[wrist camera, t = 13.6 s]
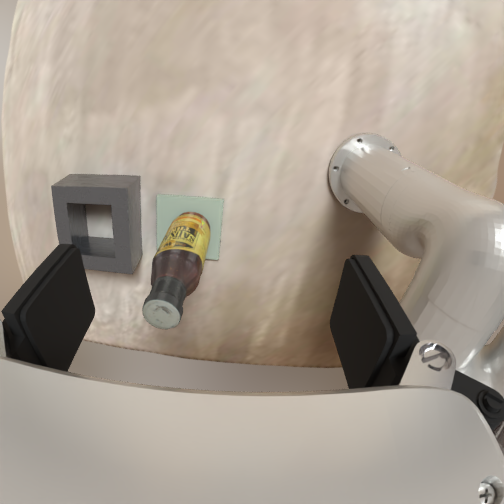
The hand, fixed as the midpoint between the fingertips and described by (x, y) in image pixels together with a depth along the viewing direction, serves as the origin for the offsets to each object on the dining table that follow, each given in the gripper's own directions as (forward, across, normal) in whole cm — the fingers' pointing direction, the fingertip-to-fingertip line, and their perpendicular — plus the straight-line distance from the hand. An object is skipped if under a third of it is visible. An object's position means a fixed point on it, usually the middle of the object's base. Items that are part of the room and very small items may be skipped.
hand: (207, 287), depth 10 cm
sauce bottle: (+34, +6, +14) cm, 37 cm away
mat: (+35, +6, +14) cm, 38 cm away
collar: (+35, +20, +12) cm, 42 cm away
